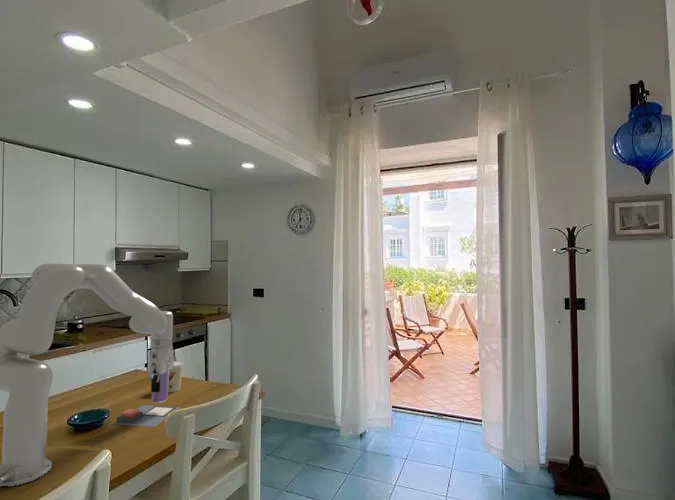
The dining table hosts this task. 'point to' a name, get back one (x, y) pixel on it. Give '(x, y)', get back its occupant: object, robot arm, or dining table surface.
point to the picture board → (147, 416)
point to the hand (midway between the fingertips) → (160, 388)
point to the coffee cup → (175, 377)
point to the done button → (130, 413)
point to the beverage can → (162, 388)
